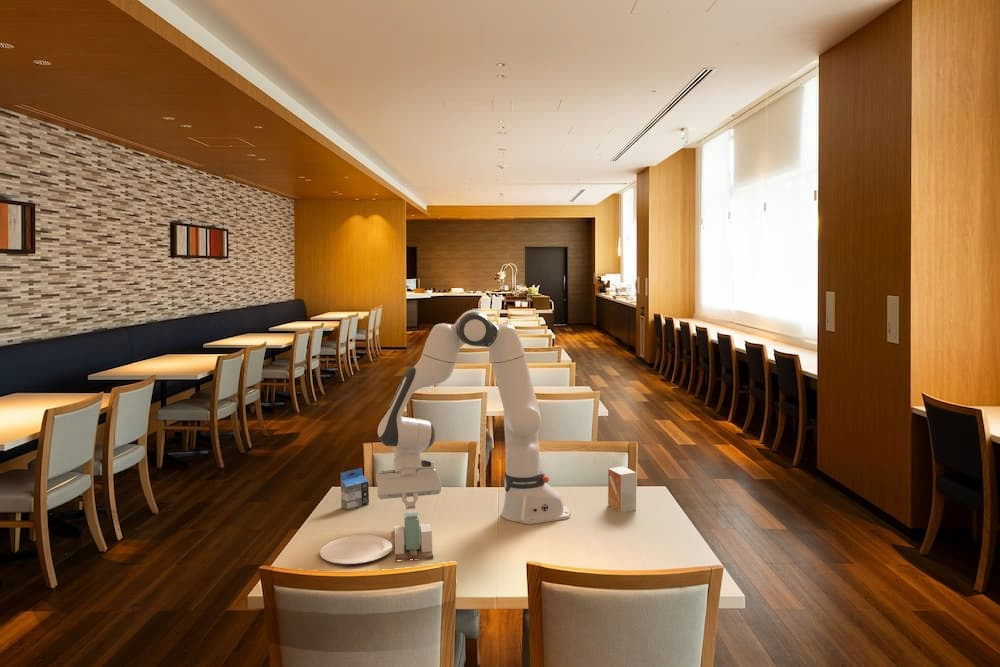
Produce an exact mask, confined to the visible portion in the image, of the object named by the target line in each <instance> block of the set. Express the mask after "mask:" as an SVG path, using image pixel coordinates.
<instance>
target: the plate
mask: <svg viewBox="0 0 1000 667" xmlns="http://www.w3.org/2000/svg"><path fill="white" fill-rule="evenodd" d="M392 549H393V544H392V542H391V541H389V540H388V539H386V538H384V537H381V536H377V535H368V534H367V535H365V534H361V535H359V534H358V535H350V536H344V537H339V538H337V539H335V540H331V541H330V542H328V543H326V544H324V546H322V547H321V548H320V550H319V556H320V558H321V559H322V560H325V561H326V562H328V563H332V564H335V565H344V566H347V565H352V566H355V565H361V564H363V565H364V564H367V563H373V562H375V561H378V560H381V559H383V558H384V557H386V556H387V555H389V554H390V553H391V552H392Z"/></svg>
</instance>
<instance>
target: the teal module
mask: <svg viewBox="0 0 1000 667" xmlns="http://www.w3.org/2000/svg"><path fill="white" fill-rule="evenodd" d="M403 517H404V518H403V519H404V521H403V522H404V527H405V547H406V550H413V549H420V538H419V526H420V518H419V512H405V513H403Z"/></svg>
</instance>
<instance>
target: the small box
mask: <svg viewBox="0 0 1000 667" xmlns="http://www.w3.org/2000/svg"><path fill="white" fill-rule="evenodd" d="M607 478H608V480H607V483H608V484H607V485H608V486H607V488H608V489H607V493H608V494H607V506H609V507H611V508H612V509H614V510H616V511H617V512H619V513H625V512H631V511H636V510H637V471H634V470H632V469H630V468H627V467H625V466H624V465H623V466H617V467H610V468H608V473H607Z"/></svg>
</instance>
